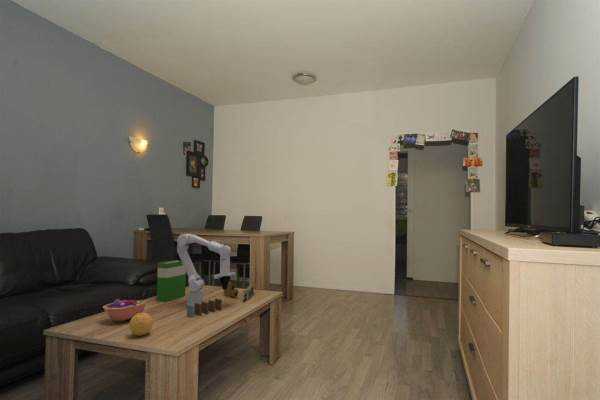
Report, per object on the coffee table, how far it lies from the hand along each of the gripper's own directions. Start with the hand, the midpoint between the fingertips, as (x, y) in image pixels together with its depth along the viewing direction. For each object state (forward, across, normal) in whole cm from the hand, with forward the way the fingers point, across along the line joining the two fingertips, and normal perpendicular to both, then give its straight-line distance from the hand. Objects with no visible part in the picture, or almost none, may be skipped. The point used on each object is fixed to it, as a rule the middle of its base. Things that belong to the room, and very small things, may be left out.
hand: (224, 289), depth 208 cm
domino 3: (+10, -15, -2) cm, 19 cm away
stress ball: (+11, -55, -11) cm, 57 cm away
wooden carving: (+11, +19, +19) cm, 29 cm away
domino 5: (+10, -6, -2) cm, 12 cm away
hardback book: (+10, -10, +43) cm, 45 cm away
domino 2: (+10, -20, -2) cm, 22 cm away
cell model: (+10, -50, +18) cm, 54 cm away
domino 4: (+10, -11, -2) cm, 15 cm away
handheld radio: (+11, +25, +7) cm, 28 cm away
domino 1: (+10, -24, -2) cm, 26 cm away
